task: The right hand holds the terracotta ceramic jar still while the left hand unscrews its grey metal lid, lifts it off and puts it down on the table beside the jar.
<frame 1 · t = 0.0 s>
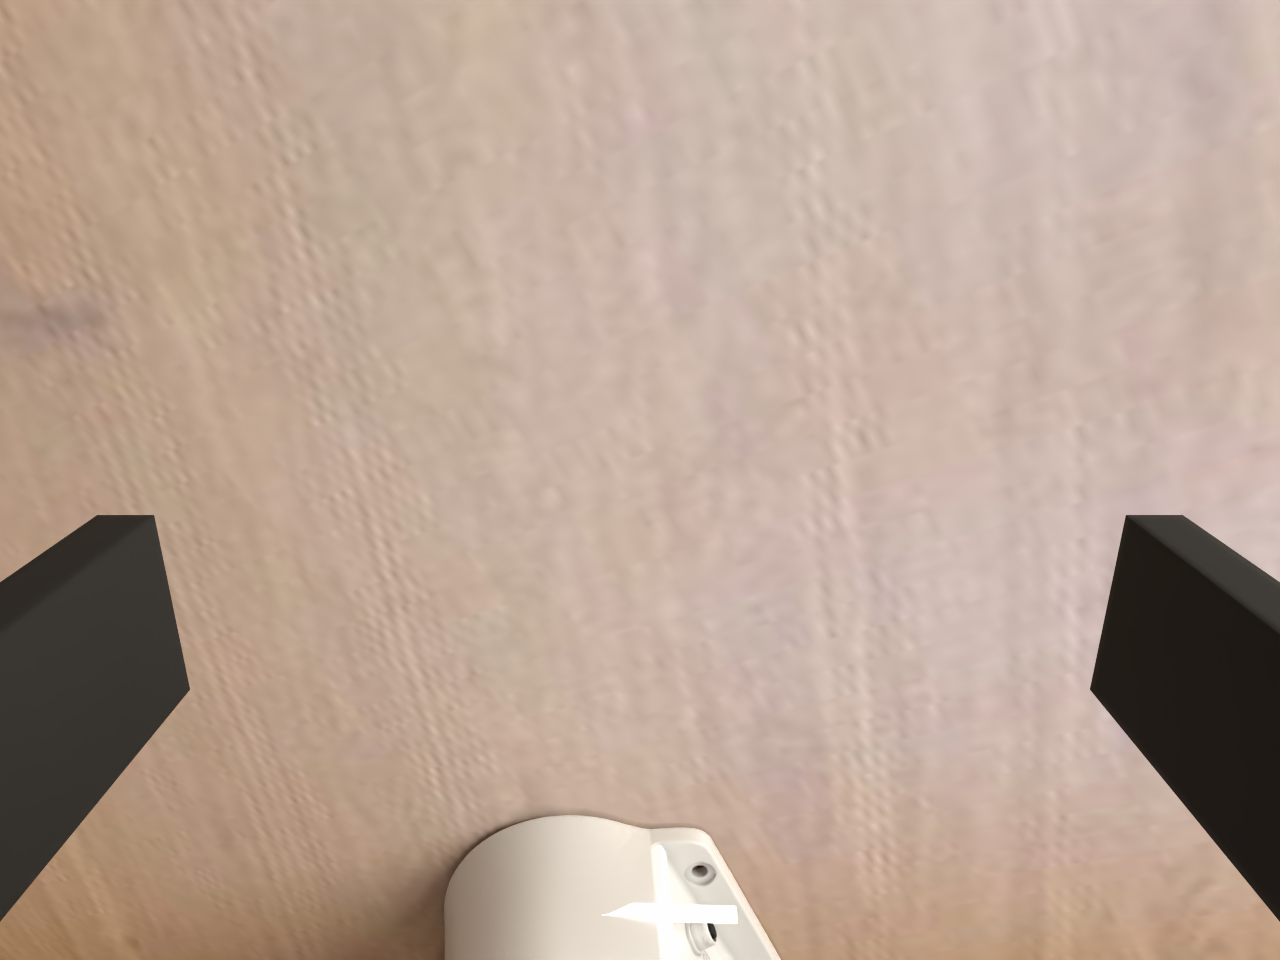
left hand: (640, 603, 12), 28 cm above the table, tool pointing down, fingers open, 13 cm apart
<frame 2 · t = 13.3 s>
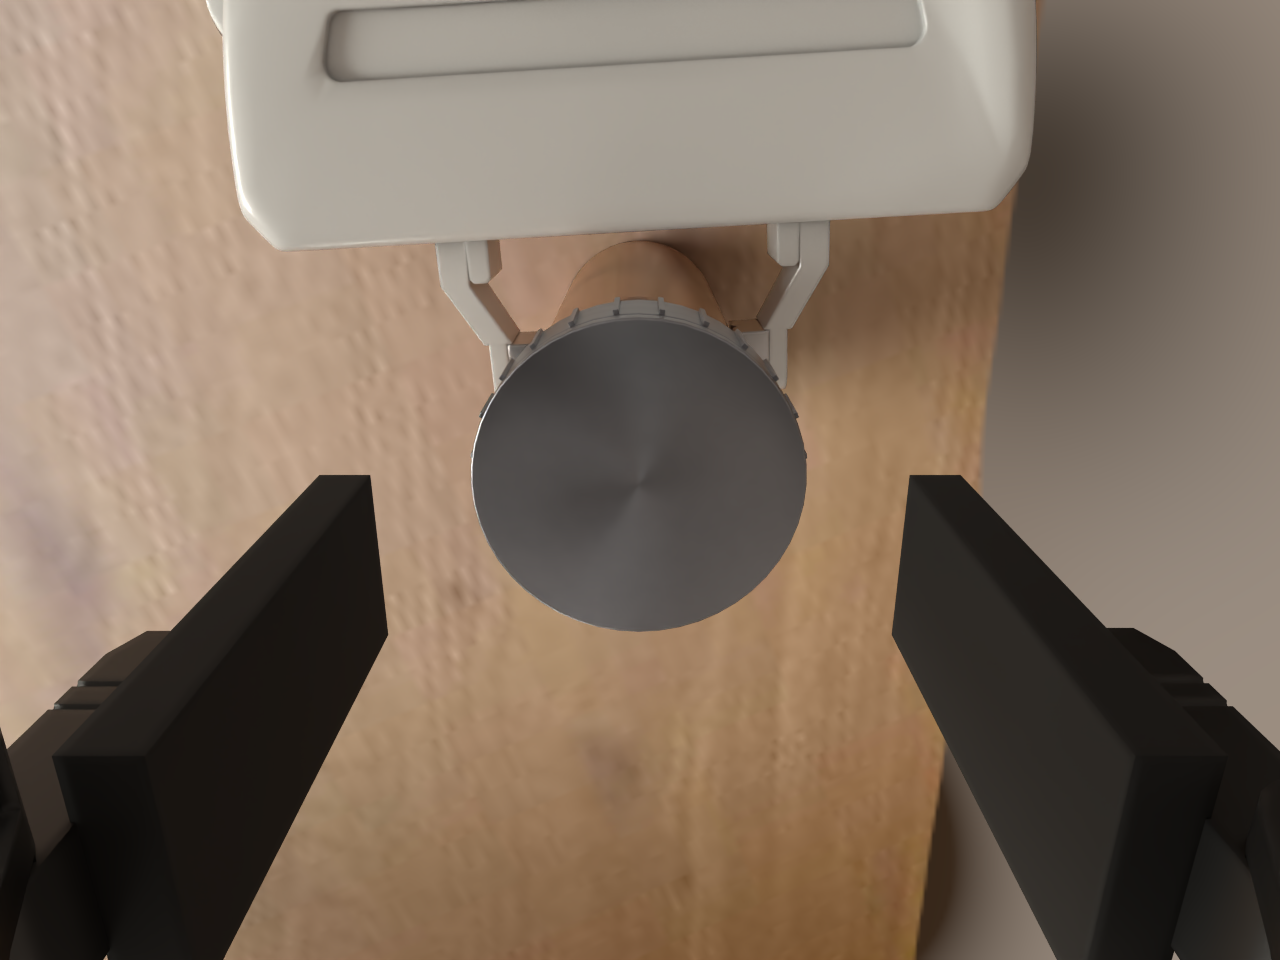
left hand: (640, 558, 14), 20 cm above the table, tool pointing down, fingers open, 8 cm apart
jar: (639, 318, 32), on the table, touching right hand
lid: (638, 478, 17), point 16 cm above the table, screwed on, not yet turned
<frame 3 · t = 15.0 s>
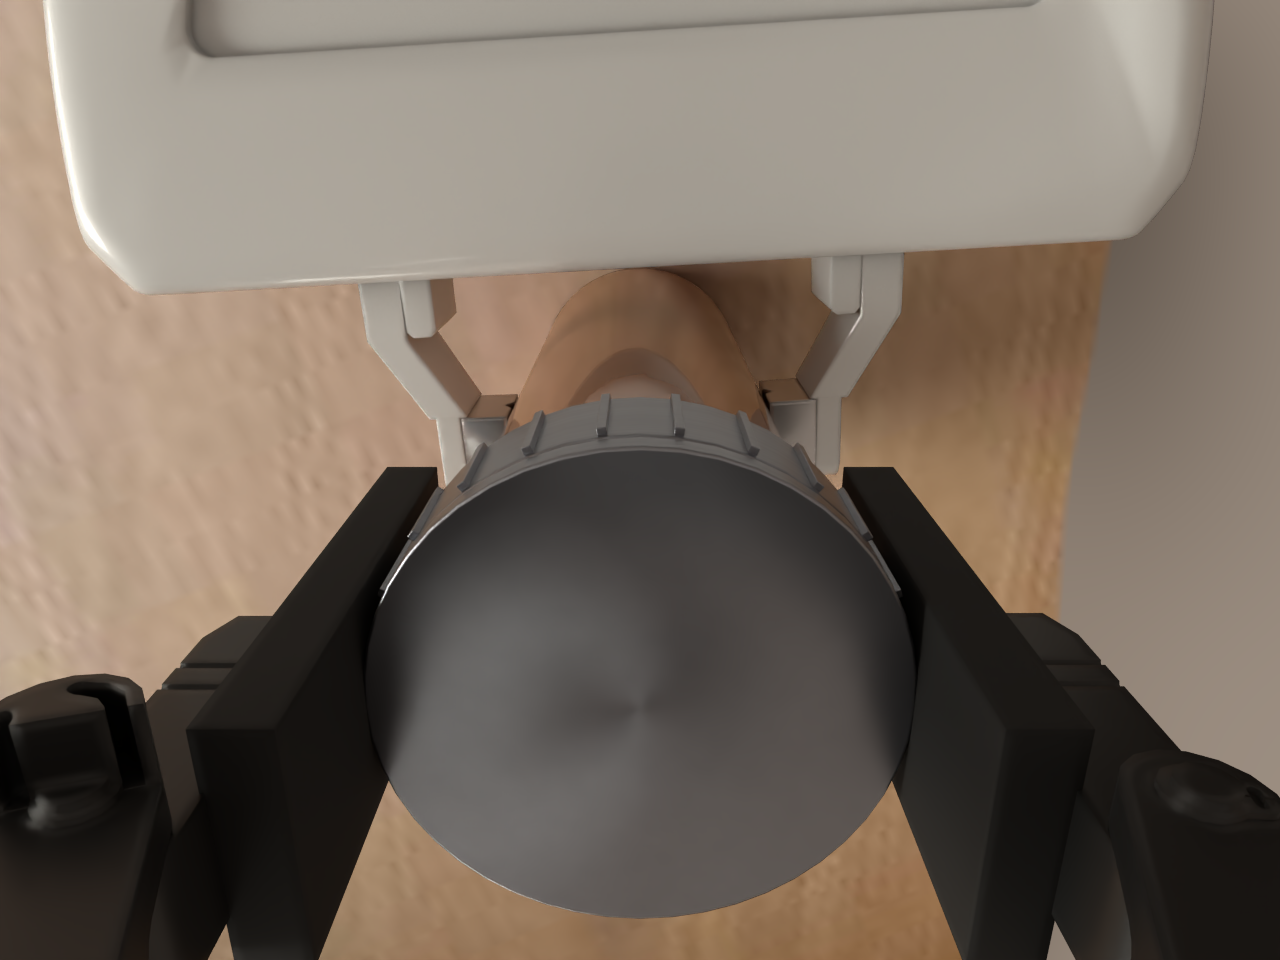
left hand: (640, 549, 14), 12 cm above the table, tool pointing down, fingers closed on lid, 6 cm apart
jar: (640, 364, 26), on the table, touching right hand
lid: (640, 691, 10), point 16 cm above the table, screwed on, not yet turned, touching left hand
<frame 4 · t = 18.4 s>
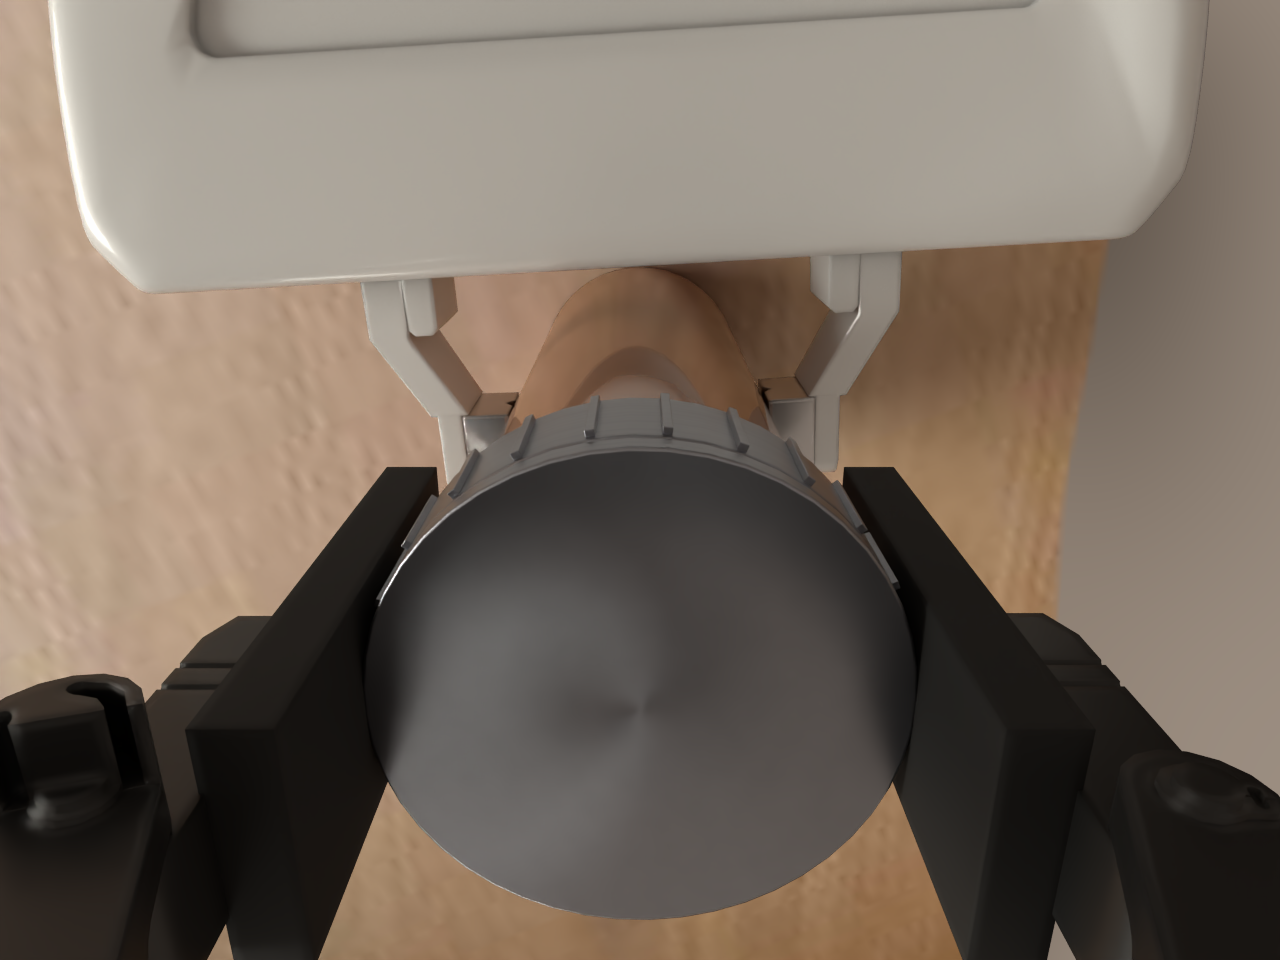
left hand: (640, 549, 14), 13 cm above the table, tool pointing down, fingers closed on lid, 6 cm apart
jar: (640, 363, 26), on the table, touching right hand
lid: (640, 692, 10), point 16 cm above the table, turned 122° so far, risen 0.2 cm, still on its thread, touching left hand
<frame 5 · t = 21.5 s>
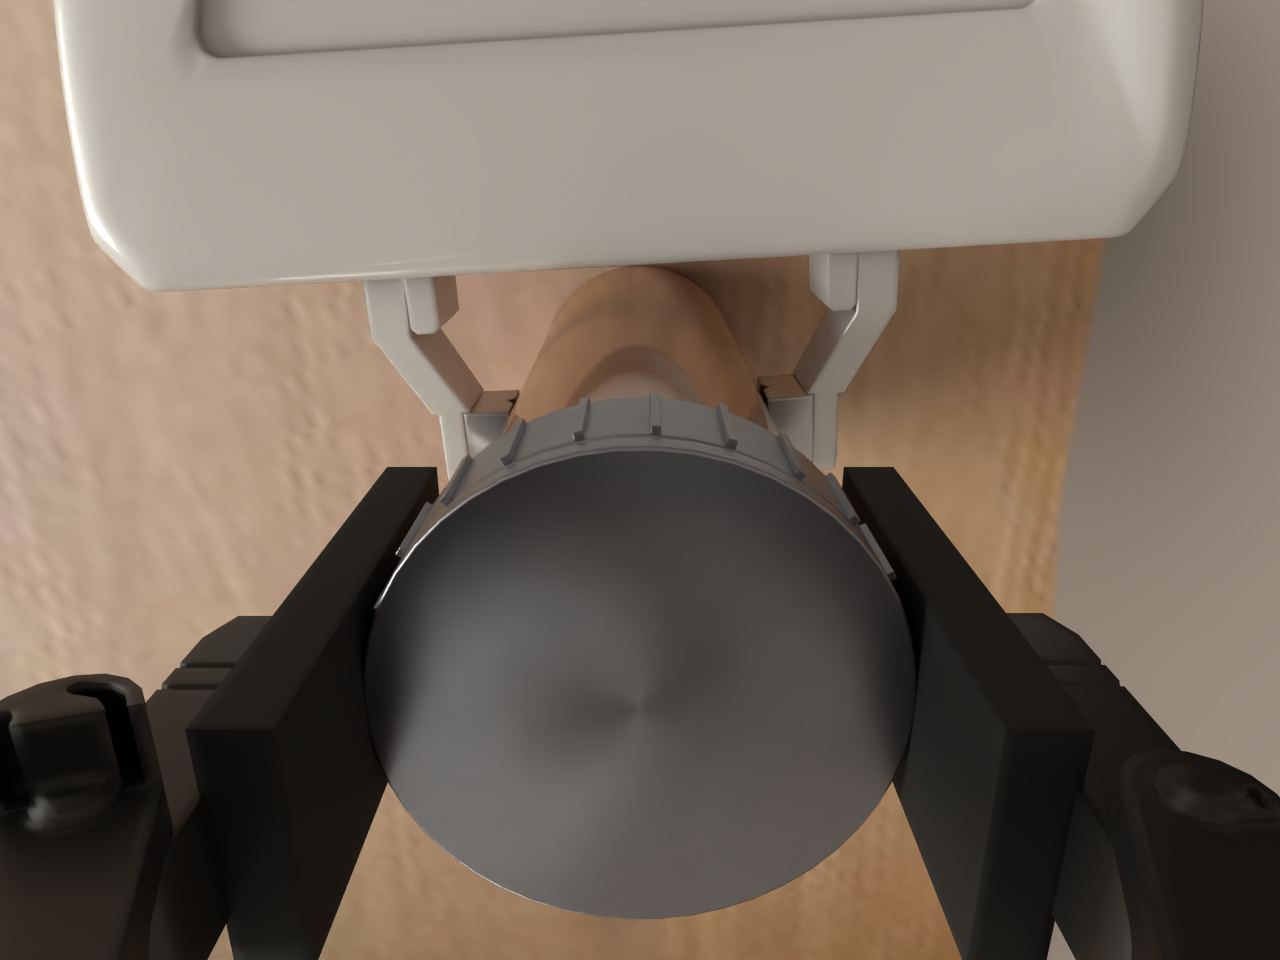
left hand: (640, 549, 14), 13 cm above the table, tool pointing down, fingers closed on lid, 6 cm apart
jar: (640, 361, 26), on the table, touching right hand
lid: (640, 691, 10), point 17 cm above the table, turned 245° so far, risen 0.3 cm, still on its thread, touching left hand
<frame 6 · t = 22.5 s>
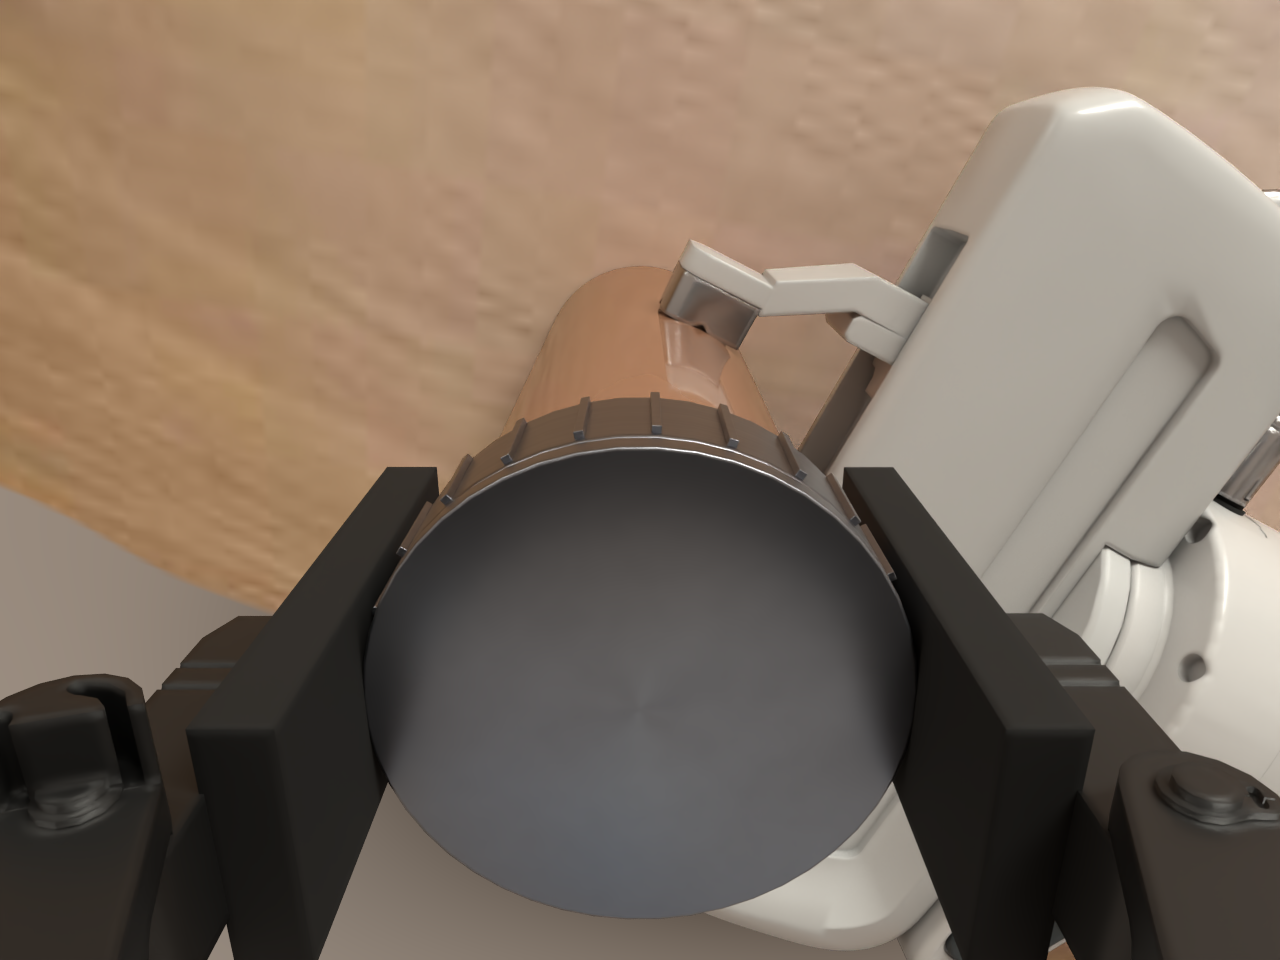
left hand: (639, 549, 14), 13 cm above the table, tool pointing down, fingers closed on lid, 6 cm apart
jar: (640, 361, 26), on the table, touching right hand
lid: (640, 691, 10), point 17 cm above the table, off its thread, touching left hand
when the left hand's fingers open (0 cm above the table, at t = 29.6 s): lid drops 3 cm, point 2 cm above the table.
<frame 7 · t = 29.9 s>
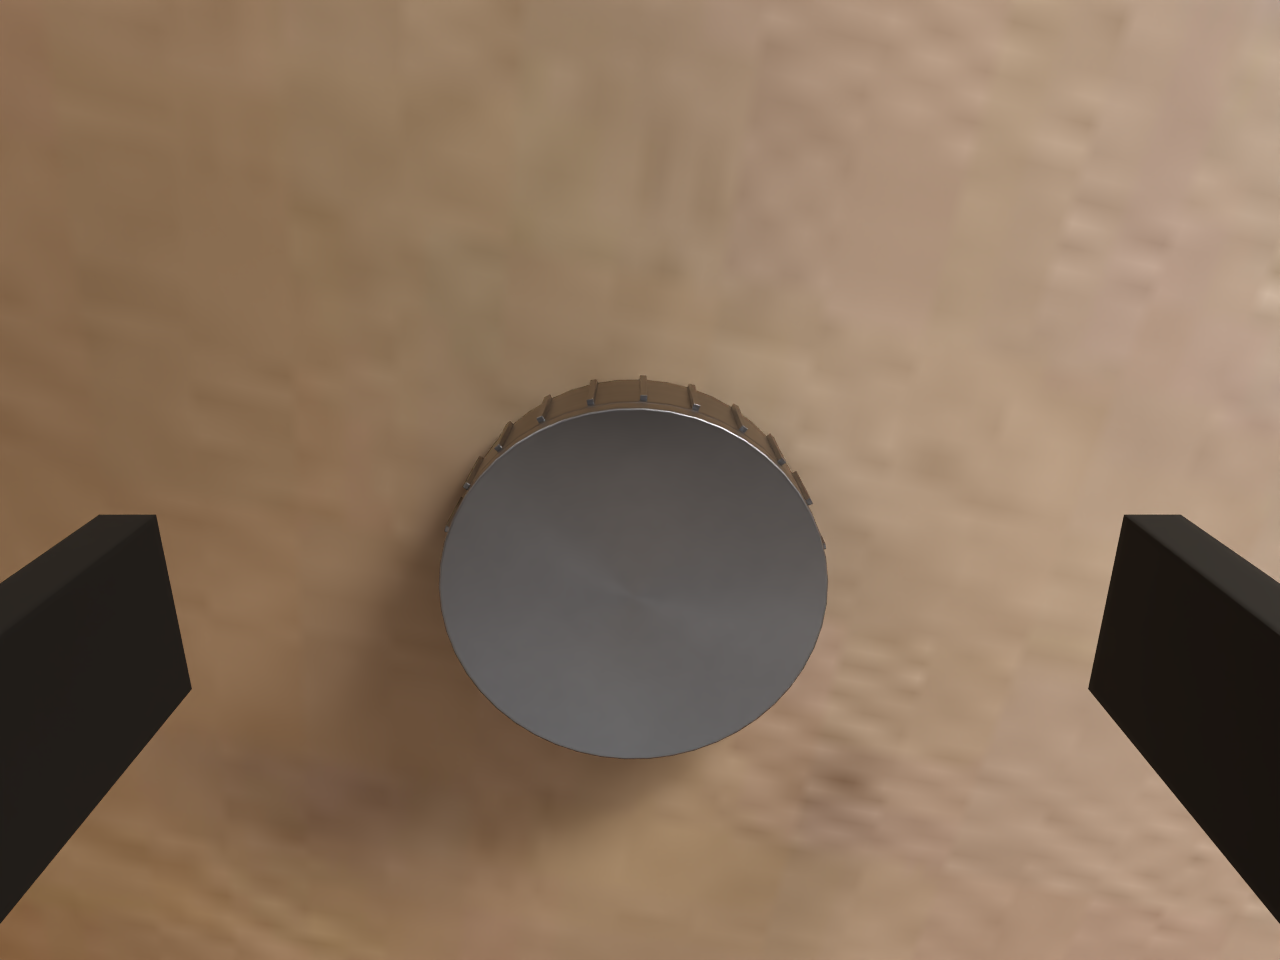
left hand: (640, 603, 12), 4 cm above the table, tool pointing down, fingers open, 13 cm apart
lid: (633, 586, 15), point 2 cm above the table, off its thread
when the right hand's fingers open (7 cm above the table, at t = 30.3 s): jar stays where it is, on the table.
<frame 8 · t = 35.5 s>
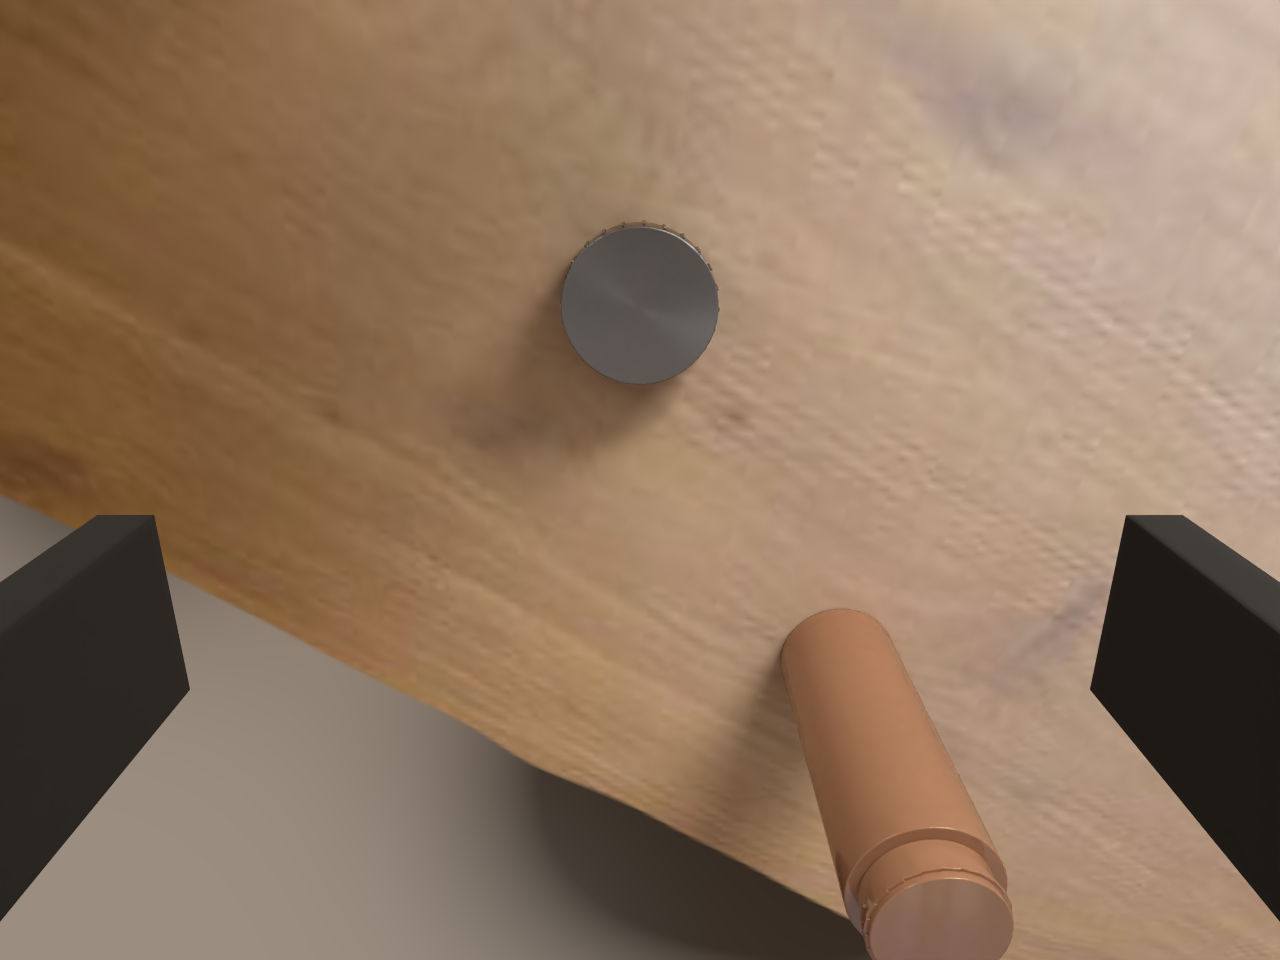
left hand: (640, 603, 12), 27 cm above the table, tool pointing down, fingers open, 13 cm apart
jar: (836, 658, 44), on the table
lid: (639, 306, 36), point 2 cm above the table, off its thread
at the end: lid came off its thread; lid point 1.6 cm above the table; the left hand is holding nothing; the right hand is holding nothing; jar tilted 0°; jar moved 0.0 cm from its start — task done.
